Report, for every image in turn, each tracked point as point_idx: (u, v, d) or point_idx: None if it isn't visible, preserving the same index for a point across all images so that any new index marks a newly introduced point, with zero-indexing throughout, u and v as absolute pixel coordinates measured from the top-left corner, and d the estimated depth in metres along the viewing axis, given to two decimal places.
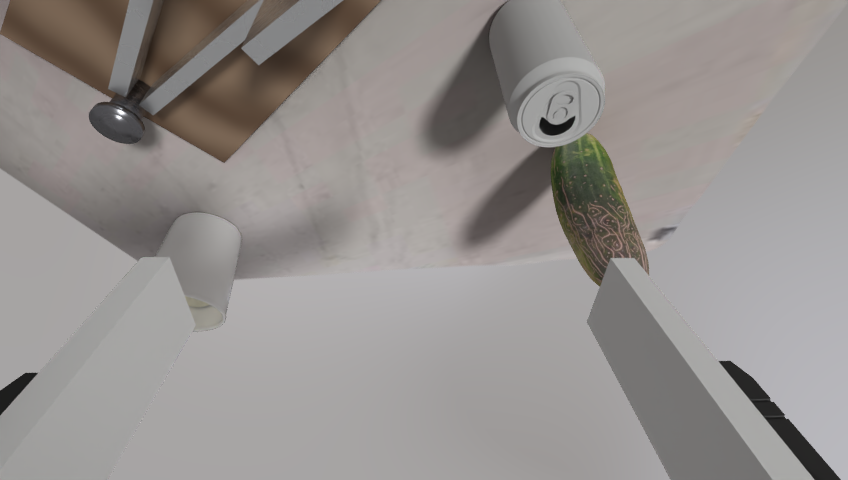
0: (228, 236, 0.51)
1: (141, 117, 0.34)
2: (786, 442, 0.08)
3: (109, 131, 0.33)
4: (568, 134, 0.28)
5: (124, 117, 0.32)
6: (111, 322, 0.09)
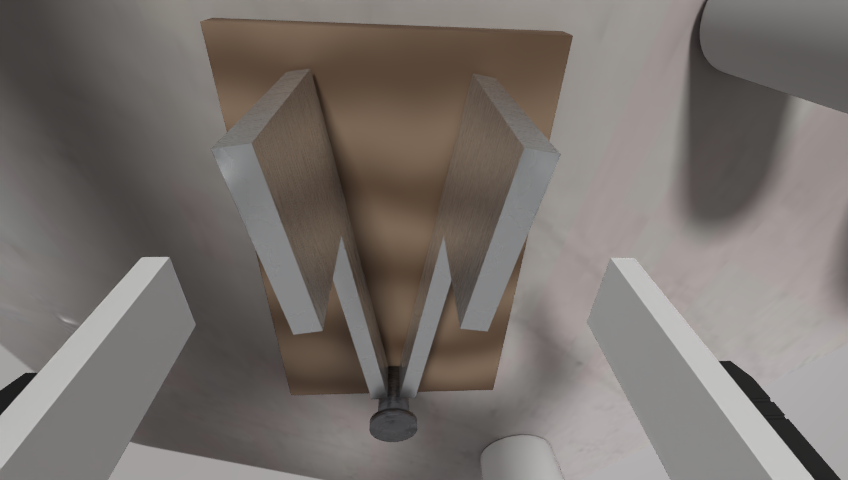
0: (538, 454, 0.42)
1: (407, 403, 0.32)
2: (786, 442, 0.08)
3: (391, 435, 0.31)
4: None
5: (395, 418, 0.30)
6: (111, 322, 0.09)
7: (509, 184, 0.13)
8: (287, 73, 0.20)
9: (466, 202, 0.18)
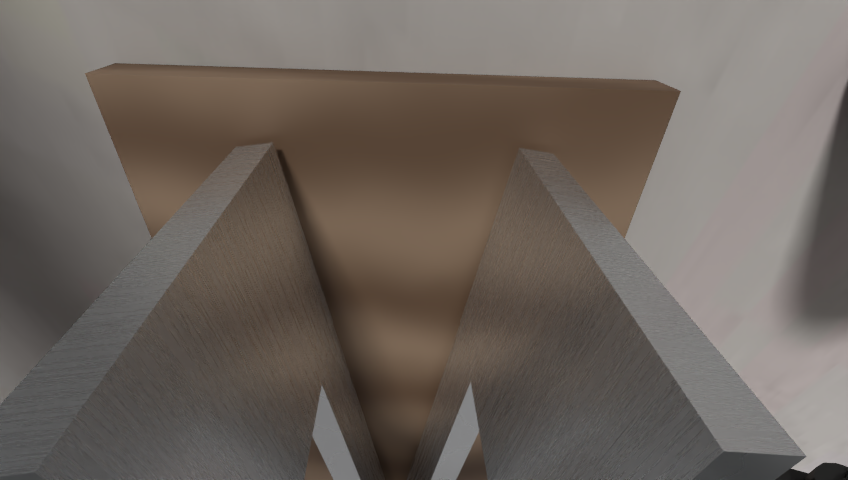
0: None
1: None
2: None
3: None
4: None
5: None
6: None
7: None
8: (235, 151, 0.12)
9: (518, 377, 0.11)
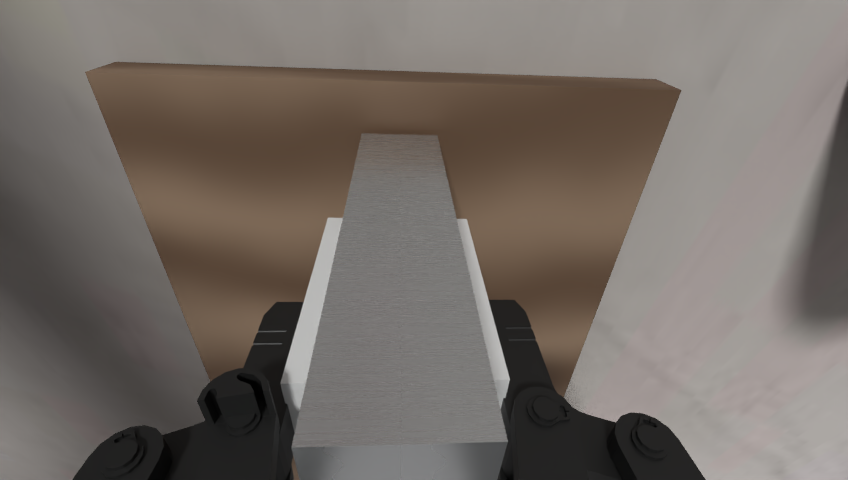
0: None
1: None
2: (523, 358, 0.10)
3: None
4: None
5: None
6: None
7: None
8: (364, 138, 0.12)
9: None
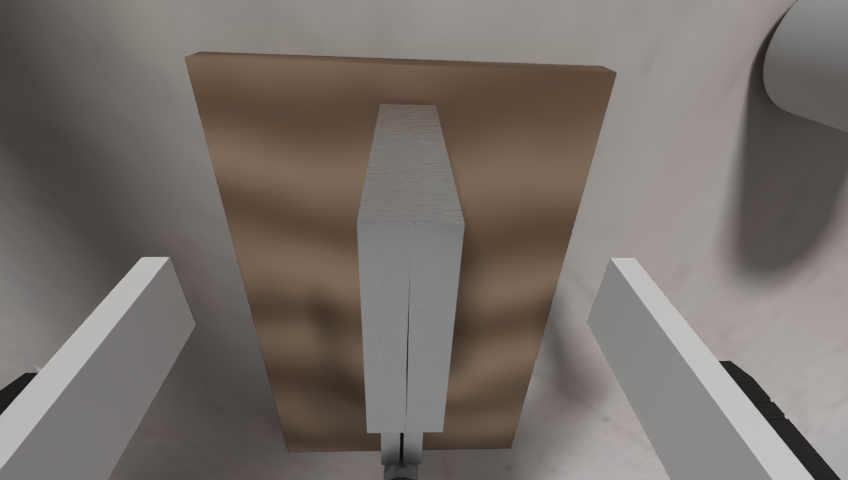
0: None
1: (416, 470, 0.28)
2: (787, 443, 0.08)
3: None
4: None
5: None
6: (111, 322, 0.09)
7: None
8: (382, 106, 0.17)
9: None
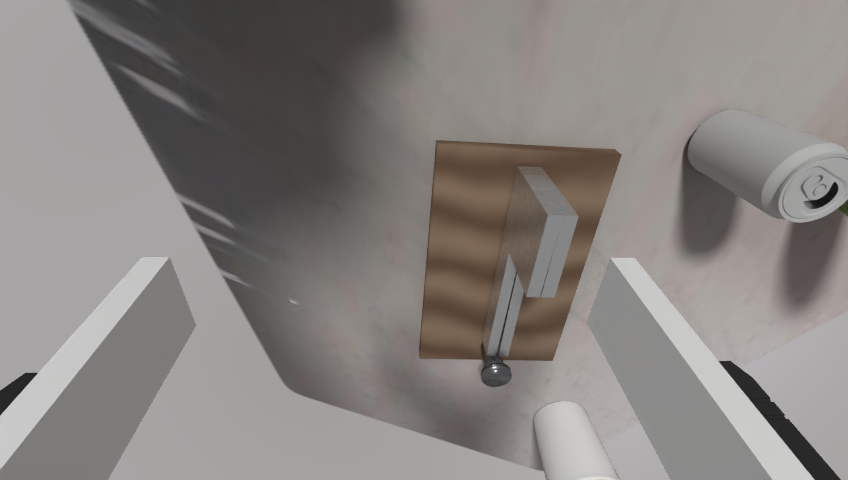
0: (578, 413, 0.60)
1: None
2: (786, 442, 0.08)
3: (494, 381, 0.49)
4: (840, 194, 0.31)
5: (499, 369, 0.48)
6: (111, 322, 0.09)
7: None
8: (519, 167, 0.39)
9: None
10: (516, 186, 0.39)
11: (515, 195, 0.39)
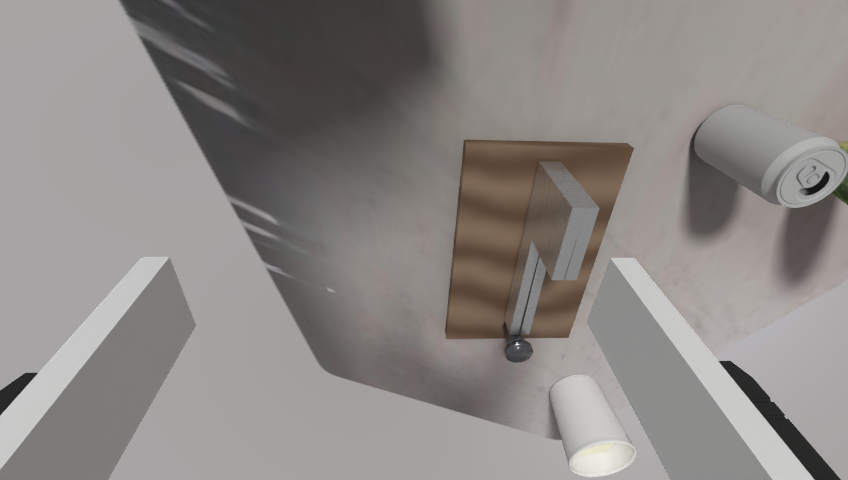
0: (591, 385, 0.65)
1: (524, 340, 0.54)
2: (786, 443, 0.08)
3: (516, 357, 0.53)
4: (831, 182, 0.34)
5: (522, 346, 0.52)
6: (111, 322, 0.09)
7: None
8: (541, 163, 0.42)
9: None
10: (538, 180, 0.43)
11: (537, 188, 0.43)
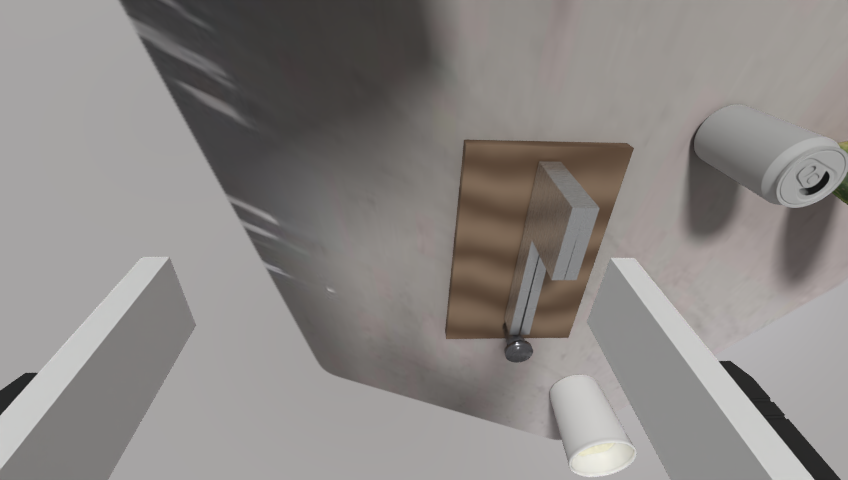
0: (591, 385, 0.65)
1: (524, 340, 0.54)
2: (786, 443, 0.08)
3: (516, 357, 0.53)
4: (831, 182, 0.34)
5: (522, 346, 0.52)
6: (111, 322, 0.09)
7: None
8: (541, 163, 0.42)
9: None
10: (539, 180, 0.43)
11: (537, 188, 0.43)
